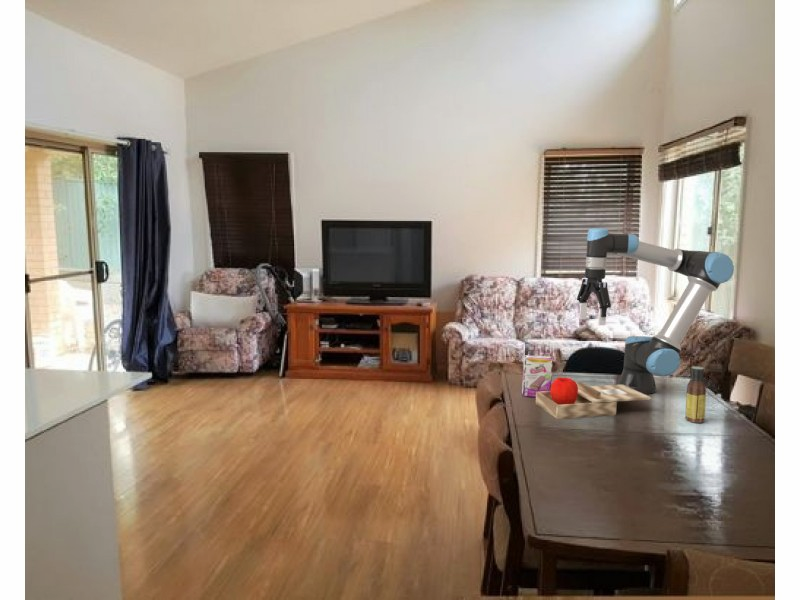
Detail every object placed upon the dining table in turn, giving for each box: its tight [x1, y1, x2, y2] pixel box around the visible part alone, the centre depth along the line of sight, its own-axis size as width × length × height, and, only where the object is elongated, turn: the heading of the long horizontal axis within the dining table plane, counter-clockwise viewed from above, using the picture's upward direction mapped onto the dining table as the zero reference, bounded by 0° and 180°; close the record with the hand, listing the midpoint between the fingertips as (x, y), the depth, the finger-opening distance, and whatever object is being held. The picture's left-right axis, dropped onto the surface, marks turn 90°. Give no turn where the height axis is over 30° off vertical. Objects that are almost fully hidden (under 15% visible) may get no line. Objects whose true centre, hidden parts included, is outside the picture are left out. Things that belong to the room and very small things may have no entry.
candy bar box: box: [521, 354, 554, 398], centre depth 233 cm, size 11×5×16 cm, turn 84°
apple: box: [550, 376, 578, 405], centre depth 216 cm, size 10×10×12 cm
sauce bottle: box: [684, 366, 707, 424], centre depth 207 cm, size 6×6×20 cm
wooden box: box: [535, 391, 618, 420], centre depth 218 cm, size 24×17×5 cm
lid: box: [576, 381, 651, 403], centre depth 221 cm, size 24×17×3 cm
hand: (591, 322), depth 226 cm, fingers open, 13 cm apart
